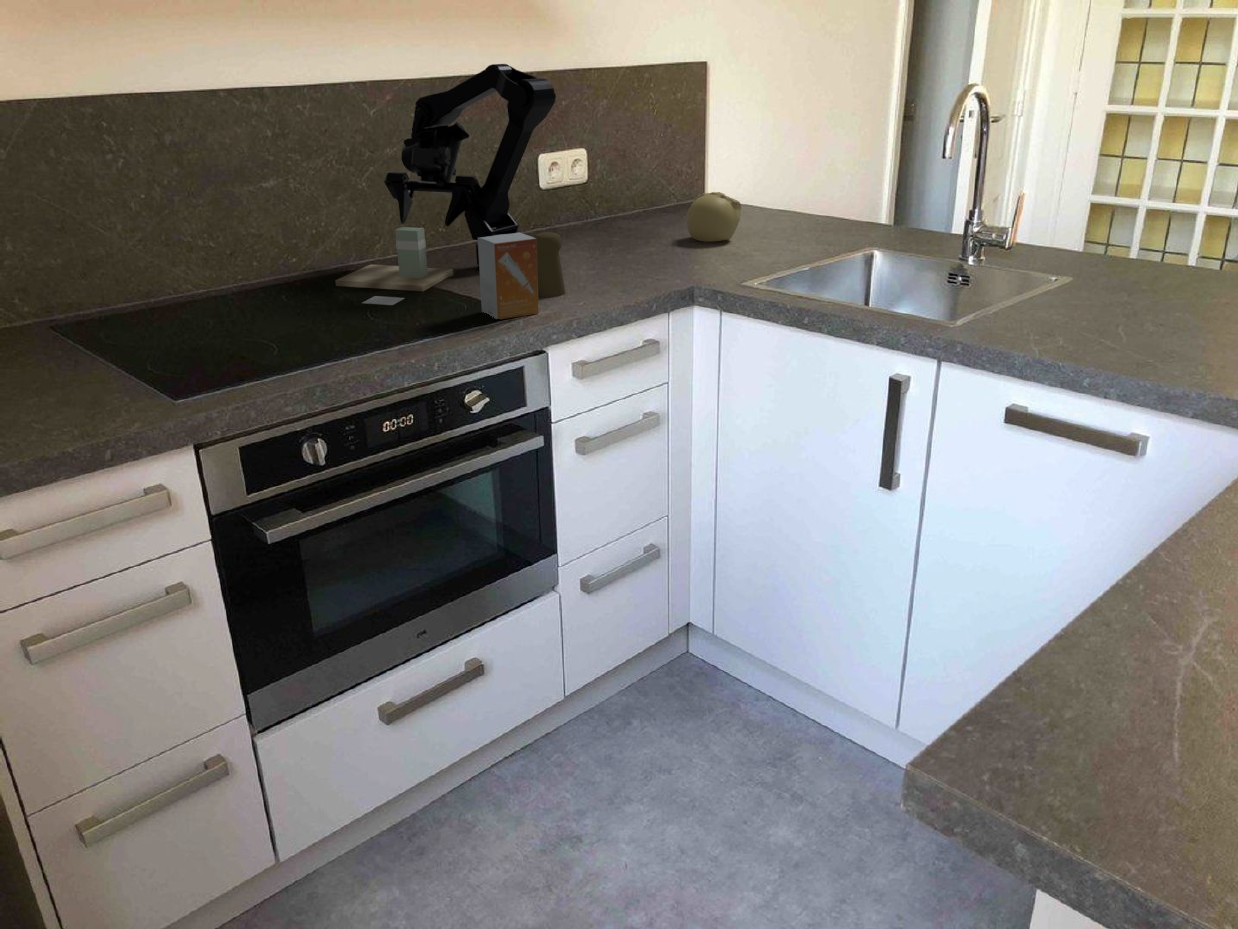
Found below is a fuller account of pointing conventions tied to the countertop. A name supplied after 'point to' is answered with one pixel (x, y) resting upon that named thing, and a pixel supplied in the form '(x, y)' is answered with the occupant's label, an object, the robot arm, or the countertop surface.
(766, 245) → the countertop surface
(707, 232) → the green persimmon
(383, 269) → the oak board
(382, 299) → the white flat rectangular tile
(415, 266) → the carton
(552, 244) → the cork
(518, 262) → the small box
